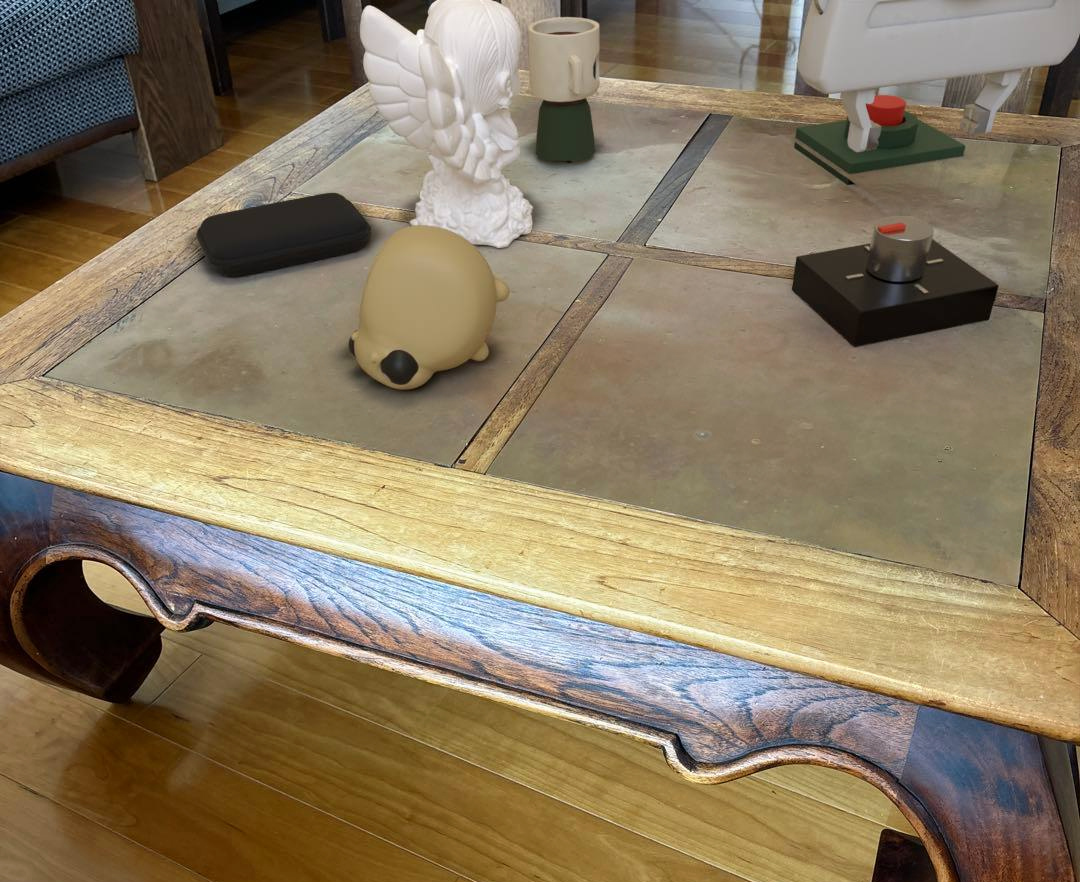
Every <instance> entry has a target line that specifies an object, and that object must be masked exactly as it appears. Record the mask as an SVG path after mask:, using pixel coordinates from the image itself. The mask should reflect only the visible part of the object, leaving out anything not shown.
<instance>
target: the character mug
mask: <svg viewBox="0 0 1080 882" xmlns="http://www.w3.org/2000/svg"><path fill="white" fill-rule="evenodd" d="M527 35H528V36H527V38H528V39H527V40H528V42H527V43H528V67H529V68H528V69H529V87H530V95H531V96H532V97H535V98H536V99H538V100H542V101H541V104H540V106H539V109H538V116H537V117H538V118H537V125H536V127H537V128H536V137H535V138H536V139H535V140H536V141H535V155H536V156H537V158H538V159H541V160H545V161H549V162H552V161H553V162H566V163H567V164H571V163H572V162H573V161H587V160H589V159H590V158H592V157H593V158H594V155H595V153H596V145H595V144H596V143H595V132H594V126H593V117H592V110H591V106H590V104H589V102H588V99H587V98H589V97H591V96H593V95H594V94H596V93H597V92H598V90H599V87H600V84H601V83H600V82H601V81H600V80H601V79H600V51H601V50H600V49H601V48H600V23H599V22H597V21H595V20H593V19H590V18H584V17H575V16H559V17H558V16H557V17H549V18H543V19H539V20H537V21H533V22H532V23H530V24H529V25H528V26H527Z"/></svg>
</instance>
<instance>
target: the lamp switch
mask: <svg viewBox="0 0 1080 882" xmlns="http://www.w3.org/2000/svg"><path fill="white" fill-rule="evenodd" d="M850 122H851V121H849V119H848V116H847V115H846V119H845V120H839V121H832V122H825V123H817V124H812V125H805V126H797V127H796V129H795V138H796V140H798V141H800V142H801V143H802V144H805V146H807V147H809V148H810V149H811V150H813V151H814V152H816V153H818V155H820V156H822V157H823V158H825V159H826V160H827V161H828V162H830V163H831V164H833V165H835V166H836V167H838V168H839V169H841V170H842V171H843V172H845V173H846V174H848V175H852V174H858V173H866V172H872V171H878V170H883V169H890V168H891V169H892V168H895V167H902V166H909V165H914V164H921V163H926V162H933V161H939V160H945V159H946V160H947V159H952V158H958V157H964V154H965V149H966V145H965V144H964V143H962V142H960V141H959V140H956V139H955V138H953V137H951V136H949V135H947V134H945V132H942V131H940V130H939V129H937V128H935V127H933V126H932V125H930V124H928V123H926V122H924V121H922V120H920V119H919V118H918V116H917V115H914V113H911V112H909V111H907V110H905V112H904V117H903V122H902V124H901V125H896V126H882V128H881V133H880V136H879V138H878V142H879V143H878V147H877V148H876V149H874V150H868V151H863V152H855V151H854V150H852V149H851V148H849V146H848V142H847V140H848V134H849V128H850ZM793 148H794V149H795V150H796V151H798V152H799V153H801V154H802V155H803V156H805V157H806V158H807V159H809V160H811V161H812V162H813V163H815V164H816V165H818V166H819V167H820V168H822V169H823V170H824V171H826V172H827V173H829V174H830V175H832V176H833V177H835V178H836V179H838V180H839V181H840V182H842V183H843V184H845V185H846V186H852V185H856V183H855V182H854V181H853V180H851V179H850V178H849V177H847V176H845V175H844V174H842V173H841V172H840V171H838V170H836V168H833V166H831V165H830V164H828V163H826V162H825V161H824V160H822V159H821V158H819V157H817V156H816V155H814V154H813V153H812V152H810V151H809V150H807V149H806V148H805V147H803V146H802V145H801V144H798V143H797V142H796V141H794V145H793Z"/></svg>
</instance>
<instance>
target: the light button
mask: <svg viewBox="0 0 1080 882" xmlns="http://www.w3.org/2000/svg"><path fill="white" fill-rule="evenodd" d="M906 106H907V101H906V100H905V99H903V98H902V97H899V96H895V95H890V94H889V95H888V94H875V97H874V102H873V103H872V104H866V108H867V112H868V115H869V118H870V120H872V121H873V123H877V124H879V125H880V126H896V125H901V124H902V122H903V117H904V112H905V111H906Z"/></svg>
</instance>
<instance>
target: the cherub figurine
mask: <svg viewBox="0 0 1080 882" xmlns="http://www.w3.org/2000/svg"><path fill="white" fill-rule="evenodd" d="M427 14H428V15H427V18H426V22H425V25H424V28H423V29H422V28H421V29H418V30H417V32H416V34H414V33H413V32H412V31H410V30H409V29H408V28H406V27H405V26H403V24H402V25H401V23H399V22H398V21H397V20H396V19H393V18H391V17H390V16H389V15H388V14H386V13H385V12H383V11H381V9H379V8H377V7H376V6H373V5H366V6H365V7H364V8H363V10H362V13H361V16H360V24H359V36H360V42H361V44H362V46H363V48H364V50H365V52H364V54H363V59H362V63H363V65H362V66H363V70H364V74H365V76H366V78H367V80H368V92H369V97H370V98H371V100H372V101H373V103H375V106H376V110H377V112H378V114H379V115H380V116H381V117H382V119H384V120H386V121H387V124H388V127H389V128H390V130H391V131H392V132H393V133H394V134H396V135H397V136H398V137H403V138H404V139H405V141H406V142H407V143H408V144H409V145H411V146H412V147H414V148H415V149H417V150H426V151H427V152H429V154H428V155H427V159H428V160H429V162H430V163H431V165H432V169H431V170H429V171H428V172H427V173H425V175H424V178H423V181H422V189H421V190H420V191H419V192H418V193H419V194H418V197H419V199H420V200H419V201H417V202H415V208H414V212H415V218H413V219H410V221H409V224H410V226H414V225H428V226H435V227H440V228H443V229H446V230H449V231H452V232H454V233H456V234H458V235H460V236H462V237H463V238H465V239H467V240H468V241H469V242H471V243H472V244H473V245H481V246H482V245H483V246H492V247H495V248H497V249H503V248H508V247H509V246H510V244H512V242H513V241H514V240H516V239H518V238H519V237H520V236H521V235H530V234H531V233H532V230H533V223H534V222H533V216H532V214H533V210H534V207H533V205H532V204H530V201H529V200H528V199H526V198H524V193H523V192H522V191H521V189H519V187H518V186H516V185H511V184H512V183H511V181H510V178H506V177H505V175H504V174H502V170H503V168H505V167H506V166H508V165H509V164H511V163H513V162H515V161H517V160H518V158H519V157H520V156H521V146H520V140H519V132H518V128H517V126H516V124H515V122H514V121H513V119H512V118H511V111H510V110H509V108H507V107H509V106H511V105H512V103H513V101H514V100H516V99H517V98H518V97H519V95H520V93H521V89H522V88H521V87H522V84H521V83H522V82H521V78H520V77H521V76H520V72H519V71H520V70H519V62H520V54H521V51H522V50H521V49H522V32H521V28H520V26H519V23H518V22H517V20H516V17H515V16H514V13H512V11H511V10H510V9H509V8H508V7H507V6H505V5H503V4H502V3H500V2H498V1H496V0H435V1H434V2H432V3H431V5H430V6H429V8H428V10H427Z"/></svg>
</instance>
